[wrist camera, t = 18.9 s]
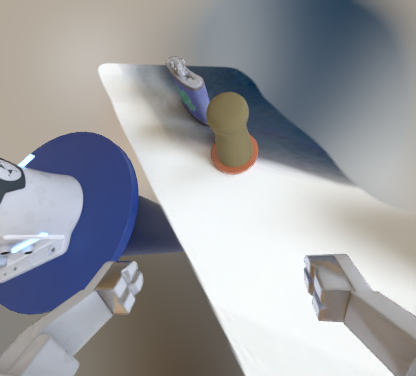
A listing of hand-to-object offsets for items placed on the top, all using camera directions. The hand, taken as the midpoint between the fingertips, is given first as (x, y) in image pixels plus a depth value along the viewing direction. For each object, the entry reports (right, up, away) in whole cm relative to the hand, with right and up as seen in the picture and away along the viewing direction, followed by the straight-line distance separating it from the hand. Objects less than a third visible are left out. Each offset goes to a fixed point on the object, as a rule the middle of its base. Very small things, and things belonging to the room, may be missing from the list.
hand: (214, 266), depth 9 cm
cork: (+4, +10, +22) cm, 25 cm away
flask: (-2, +19, +28) cm, 33 cm away
